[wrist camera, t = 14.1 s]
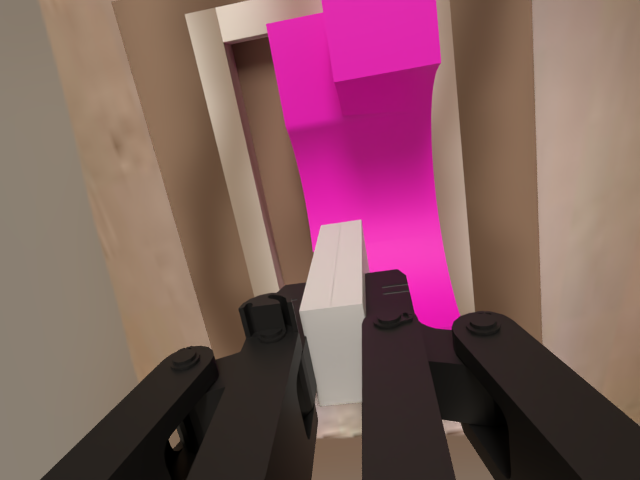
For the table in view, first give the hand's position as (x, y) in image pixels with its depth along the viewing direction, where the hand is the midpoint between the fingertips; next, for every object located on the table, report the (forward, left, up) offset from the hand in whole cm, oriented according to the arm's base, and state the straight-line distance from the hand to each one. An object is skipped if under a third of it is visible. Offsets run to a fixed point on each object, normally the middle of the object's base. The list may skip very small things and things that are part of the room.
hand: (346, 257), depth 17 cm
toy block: (-1, -1, -9) cm, 9 cm away
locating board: (0, 0, -10) cm, 10 cm away
